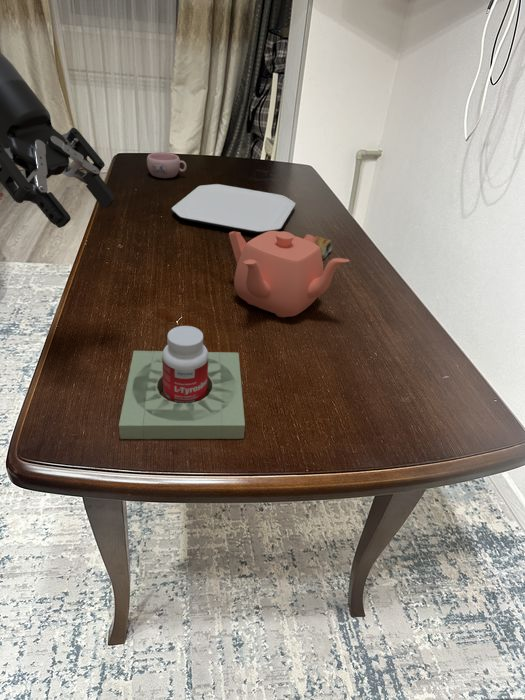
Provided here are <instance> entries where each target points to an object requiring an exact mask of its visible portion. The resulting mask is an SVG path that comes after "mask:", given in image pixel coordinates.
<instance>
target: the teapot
mask: <svg viewBox="0 0 525 700" xmlns="http://www.w3.org/2000/svg"><path fill="white" fill-rule="evenodd" d="M304 236H305V238H304V239H302V238H300V237H301V236H297V235H294V233H291V232H289V231H280V230H277V231H268V232H263V233H260V234H259V235H257V236H255V237H253V238H252V239H250V240H248V241H247V242H246V240H245V238H244V237H243V235H242V234H241V231H235V230H233V231H230V232H229V233H228V237H229V240H230V241H229V242H230V244H231V248H232V251H233V254H234V258H235V262H236V268H235V271H234V279H233V286H234V289H235V292H236V294H237V296H238V297H239V298H240V299H242V300H243V301H245V302H246V303H247V304H248V305H250V306H254V307H256V308H259V309H261V310H263V311H267V312H270V313H273V314H275V316H277V317H279V318H287V317H295V316H297V315H299V314H301V313H302V312H303V311H305V310H306V309H307V308H308V307H310V306H311V305H312V304H313V303H314V302H315V301H316V300H317V299H318V298H319V296H322V295H323V294H324V293H325V292H326V291H327V290H328V289H329V287H330V285H331V283H332V280H333V277H334V274H335V273H336V271H337V269H338V267H340V266H341V265H343V264H346V263H349V262H350V261H351V260H350V259H349V258H343V257H335V258H332V259H330V260H329V261H328V262H327V263H326V265H325V267H324V262H323V259H322V255H321V250H320V247H319V246H318V245H316V244H317V242H318V240H317V238H315V235H312V234H308V233H307V234H305V235H304Z"/></svg>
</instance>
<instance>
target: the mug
mask: <svg viewBox="0 0 525 700" xmlns="http://www.w3.org/2000/svg"><path fill="white" fill-rule="evenodd" d="M181 164H183V169H182V168H181ZM146 166H147V169H148V171H149V173H150V175H151V176H153V177H155V178H159V179H172V178H175V177H177V175H178V174H179V172H181V173H184V172H186V171H187V163H186V162H185V161H184V160H181V159H180V157H179V155H177V154H175V153H171V152H162V151H158V152H157V151H156V152H152V153H149V154H148V155H147V156H146Z"/></svg>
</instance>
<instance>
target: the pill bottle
mask: <svg viewBox="0 0 525 700" xmlns="http://www.w3.org/2000/svg"><path fill="white" fill-rule="evenodd" d="M166 337H167V339H166V340H167V341H166V343H167V344H166V345H165V346H164V348H163V350H162V351H163V353H162V365H163V389H162V396H163V397H164V398H165V399H167V400H168V401H172V402H175V403H193V402H197V401H200V400H202V399H203V398H205V397H206V396H208V394H207V393H208V389H207V378H208V352H209V351H208V348H207V347H206V346H205V344H204V333H203V331H202V330H200V329H199V328H197V327H194V326H191V325H180V326H175V327H173V328H171V329H170V330H169V331H168V333H167V336H166Z"/></svg>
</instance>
